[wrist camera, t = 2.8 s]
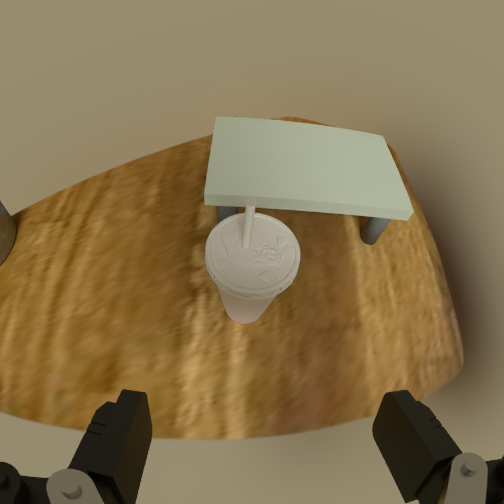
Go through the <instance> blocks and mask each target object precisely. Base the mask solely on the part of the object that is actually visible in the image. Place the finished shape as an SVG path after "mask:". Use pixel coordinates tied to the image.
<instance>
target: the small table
mask: <svg viewBox="0 0 504 504" xmlns="http://www.w3.org/2000/svg"><path fill="white" fill-rule="evenodd" d="M248 199H253V200H255V202H256V207H255V208H270V209H285V210H299V211H312V212H324V213H336V214H347V215H358V216H368V217H370V219H369V220H368V222H367V224H366V225H365V227H364V229H363V230H362V232H361V234H360V236H361V239H362V241H363V242H364V243H366V244H369V245H372V244H374V243H375V242H376V240H377V239H378V238H379V236H380V235H381V233H382V232H383V230H384V229H385V227H386V226H387V225H388V223H389V222H390V220H391V219H397V220H406V221H407V220H408V219H409V218H410V216H411V215H412V213H413V212H414V211H413V208H412V205H411V202H410V200H409V197H408V194H407V192H406V189H405V187H404V184H403V182H402V179H401V177H400V174H399V172H398V169H397V167H396V165H395V162H394V160H393V158H392V156H391V153H390V151H389V149H388V147H387V144H386V142H385V140H384V138H383V136H380V135H375V134H370V133H365V132H359V131H353V130H348V129H342V128H335V127H329V126H322V125H314V124H307V123H298V122H289V121H280V120H269V119H256V118H241V117H220V116H217V117H216V121H215V127H214V133H213V139H212V145H211V151H210V157H209V164H208V171H207V177H206V184H205V191H204V201H205V205H214V206H217V224H218V223H220V222H221V221H222V220H224V219H226V218H228V217H230V216H232V215H236V214H238V207H245V205H246V201H247V200H248Z"/></svg>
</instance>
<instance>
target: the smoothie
mask: <svg viewBox="0 0 504 504" xmlns="http://www.w3.org/2000/svg"><path fill="white" fill-rule="evenodd" d="M255 207H256V202H255V200H253V199H248V200H247V201H246V205H245V213H240V214H236V215H232V216H230V217H228V218H226V219H224V220H222V221H221V222H220V223H218V224H217V225H216V226H215V227H214V228H213V230H212V231H211V233H210V234H209V236H208V239H207V242H206V246H205V263H206V268H207V271H208V273H209V275H210V277H211V279H212V280H213V282H214V283H215V284H216V285H217V287H218V290H219V293H220V296H221V299H222V302H223V305H224V308H225V311H226V313H227V315H228V316H229V317H230V318H231V319H232V320H233V321H235V322H238V323H241V324H248V323H252V322H254V321H256V320H257V319H259V318H260V316H261V315H262V314H263V312H264V311H265V310H266V309H267V307H268V306H269V305H270V303H271V302H272V301H273V299H274V298H275V297H276V295H277V294H279V293H281V292H283V291H284V290H285V289H286V288H287V287H288V286H289V285H290V284H291V283H292V281H293V280H294V278H295V276H296V275H297V270H298V267H299V263H300V248H299V244H298V241H297V239H296V237H295V236H294V234H293V233H292V231H291V230H290V229H289V228H288V227H287V226H286V225H285V224H283V223H282V222H281V221H279V220H277V219H276V218H274V217H271V216H268V215H265V214H261V213H255Z"/></svg>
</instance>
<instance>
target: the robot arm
mask: <svg viewBox="0 0 504 504" xmlns="http://www.w3.org/2000/svg"><path fill="white" fill-rule="evenodd" d="M15 236H16V225H15V222H14V220H13V219H12V217H11V216H10V214H9V213H8V212H7V210H6V209H5V207H4V206H3V204H2V203H1V201H0V264H1V263H2V262H3V261H4V260H5V258H6V257H7V255H8V254H9V252H10V250H11V248H12V246H13V243H14V240H15ZM372 431H373V437H374V440H375V442H376V444H377V446H378V448H379V450H380V452H381V454H382V456H383V458H384V460H385V462H386V464H387V466H388V468H389V470H390V472H391V474H392V476H393V478H394V480H395V482H396V484H397V486H398V488H399V491H400V493H401V495H402V497H403V499H404V501H405V503H408V502H411V501H414V500H417V499H418V501H419V503H420V504H504V456H503V457H502V459H498V460H491V461H484V459H483V458H481V457H480V456H478V455H477V454H474V453H462V451H461V450H460V449H459V447H458V446H457V445H456V443H455V442H454V441H453V439H452V438H451V437H450V435H449V434H448V433H447V431H446V430H445V428H444V427H442V425H441V423H440V422H439V420H437V419H436V416H435V415H434V414H433V412H432V411H431V410H430V409H429V408H428V407H427V406H425V405H424V404H422V403H421V402H420V401H415V399H414V398H413V396H412V395H411V394H410V392H409V391H407V390H400V391H394V392H387V393H386V394H385V395H384V397H383V399H382V402H381V405H380V407H379V410H378V413H377V415H376V418H375V420H374V423H373V430H372ZM151 439H152V422H151V416H150V411H149V405H148V399H147V394H146V393H145V392H139V391H132V390H126V389H123V390H122V391H121V393H120V395H119V397H118V400H117V402H116V403H113V402H108V401H107V402H106V403H105V404H104V405H102V406H101V407H100V408H99V409H97V410H96V412H95V414H94V416H93V418H92V420H91V424H89V426H88V428H87V430H86V433H85V434H84V436H83V438H82V440H81V442H80V444H79V446H78V448H77V450H76V452H75V455H74V457H73V459H72V461H71V463H70V465H69V467H68V468H67V469H63V470H60V471H57V472H55V473H54V474H53V475H52V476H51V477H50V478H39V477H38V478H37V477H29V476H21V475H20V474H19V473H18V471H17V470H16V469H15V468H14V467H13V466H12V465H10V464H8V463H5V462H0V504H135V503H136V499H137V495H138V490H139V486H140V482H141V478H142V474H143V470H144V466H145V463H146V459H147V454H148V451H149V447H150V443H151Z"/></svg>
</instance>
